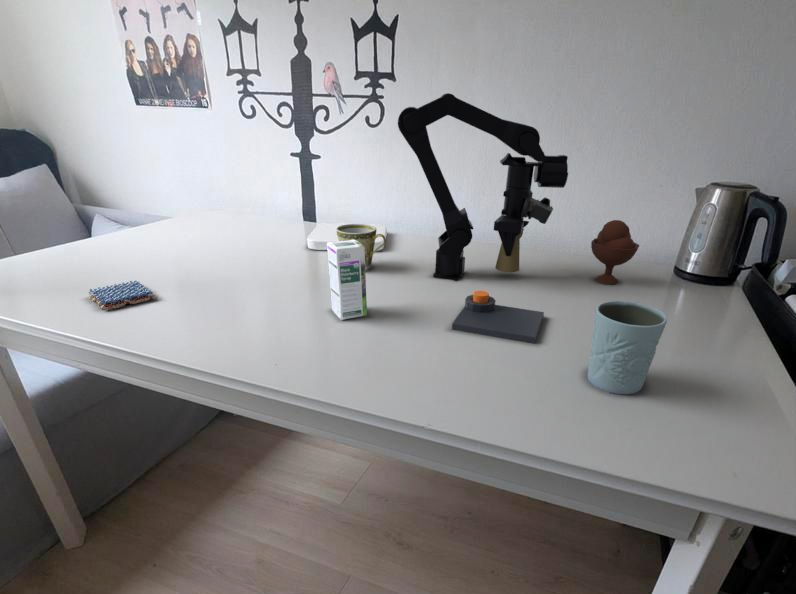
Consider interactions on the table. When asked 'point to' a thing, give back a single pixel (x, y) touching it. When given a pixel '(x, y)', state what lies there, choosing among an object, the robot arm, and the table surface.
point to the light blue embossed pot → (624, 345)
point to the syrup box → (347, 278)
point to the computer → (329, 234)
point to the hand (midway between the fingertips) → (509, 253)
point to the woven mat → (120, 295)
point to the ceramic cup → (361, 238)
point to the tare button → (480, 296)
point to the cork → (509, 258)
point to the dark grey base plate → (498, 321)
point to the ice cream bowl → (613, 248)
